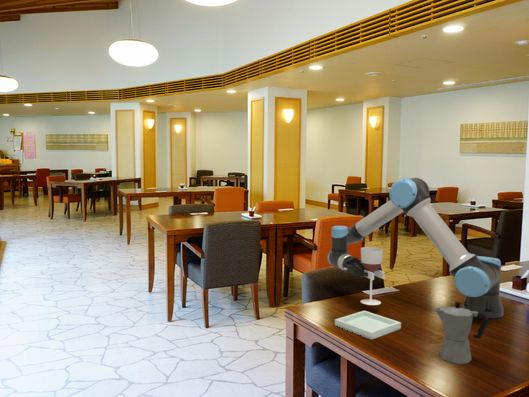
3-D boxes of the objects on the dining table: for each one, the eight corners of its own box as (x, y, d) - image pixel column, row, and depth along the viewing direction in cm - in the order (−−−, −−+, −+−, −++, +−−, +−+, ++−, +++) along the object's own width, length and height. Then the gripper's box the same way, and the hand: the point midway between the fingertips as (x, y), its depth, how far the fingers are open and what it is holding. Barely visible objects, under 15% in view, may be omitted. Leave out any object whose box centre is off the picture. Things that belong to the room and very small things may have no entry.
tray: (400, 328, 169) (401, 322, 169) (371, 339, 158) (371, 332, 158) (364, 316, 182) (364, 310, 182) (334, 325, 171) (334, 319, 171)
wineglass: (378, 298, 193) (379, 246, 192) (384, 305, 184) (385, 251, 182) (357, 298, 193) (358, 246, 191) (363, 305, 184) (364, 251, 182)
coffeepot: (431, 360, 142) (433, 303, 141) (434, 348, 151) (436, 295, 149) (486, 369, 136) (489, 310, 135) (486, 357, 145) (488, 301, 143)
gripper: (366, 270, 208) (396, 283, 186) (332, 273, 202) (359, 287, 180) (366, 254, 207) (397, 265, 185) (332, 256, 202) (359, 268, 179)
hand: (378, 276), depth 183 cm, fingers closed on wineglass, 4 cm apart
